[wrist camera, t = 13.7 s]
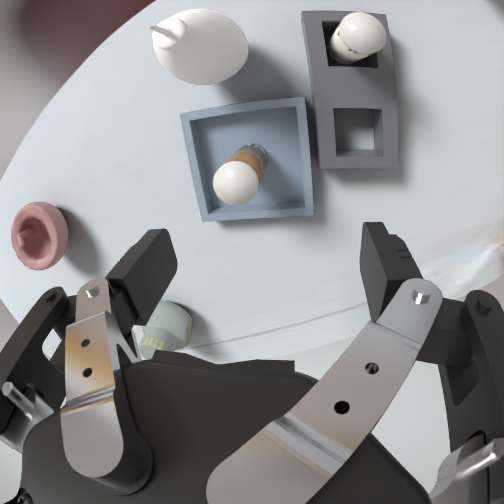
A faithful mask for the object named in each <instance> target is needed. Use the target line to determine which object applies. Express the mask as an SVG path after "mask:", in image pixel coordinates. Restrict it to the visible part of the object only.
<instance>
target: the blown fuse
mask: <svg viewBox="0 0 504 504" xmlns="http://www.w3.org/2000/svg"><path fill="white" fill-rule="evenodd" d="M267 164H268V154H267V152H266V150H265V149H264V148H263V147H262V146H260V145H258V144H256V143H247V144H244V145H243V146H241V147H240V148H239V149H238V150H237V151H236V152H235V153H234V154H233V155H232V156H231V157H230V158H229V159H228V160H227V161H226V162H225V163H224V164H223V165H222V166H221V167H220V168H219V169H218V170H217V172H216V173H215V175H214V178H213V188H214V191H215V193H216V195H217V196H218V197H219V198H220V199H221V200H222V201H223V202H225V203H227V204H229V205H234V206H239V205H244V204H246V203H248V202H250V201H251V200H252V199H253V198H254V196H255V194H256V192H257V190H258V187H259V184H260V182H261V179H262V177H263V174H264V172H265V169H266V167H267Z"/></svg>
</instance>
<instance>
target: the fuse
mask: <svg viewBox="0 0 504 504" xmlns="http://www.w3.org/2000/svg"><path fill="white" fill-rule="evenodd" d="M385 43H386V31H385V29H384V27H383V25H382V24H381V23H380V21H378V20H377V19H376V18H375V17H373V16H371V15H369V14H367V13H363V12H354V13H350V14H348V15H347V16H345V17H344V18H343V20H342V21H341V23H340V24H339V26H338V28H337V29H336V31H335V32H334V34H333V35H332V37H331V38H330V40H329V42H328V45H327V49H328V53H329V55H330V56H331V57H332V58H333V59H334V60H335V61H336V62H338V63H341V64H353V63H355V62H357V61H359V60H361V59H363V58H365V57H367V56H369V55H371V54H373V53H375V52H377V51H379V50H380V49H382V48H383V47H384V45H385Z"/></svg>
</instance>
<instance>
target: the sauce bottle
mask: <svg viewBox="0 0 504 504" xmlns="http://www.w3.org/2000/svg"><path fill="white" fill-rule="evenodd" d="M149 28H150V29H151V30H153V35H152V37H153V45H154V50H155V53H156V56H157V57H158V59H159V61H160V63H161V64H162V65H163V66H164V67H165V69H166V70H167V71H168V72H170V73H171V74H172V75H173V76H175V77H176V78H178V79H180V80H182V81H184V82H187V83H191V84H195V85H210V84H216V83H219V82H222V81H224V80H226V79H228V78H230V77H231V76H233V75H234V74H236V73H237V72H238V71H239V70H240V69H241V68H242V66H243V65H244V64H245V62H246V60H247V57H248V51H249V49H248V42H247V39H246V37H245V34H244V33H243V31H242V30H241V28H240V27H239V26H238V25H237V24H236V23H235V22H234V21H233V20H231V19H230V18H229V17H227V16H225V15H224V14H221V13H219V12H216V11H213V10H207V9H192V10H187V11H183V12H180V13H177V14H175V15H173V16H171V17H170V18H168V19H165V20H163V21H162V22H160V23H159V24H158V25H157V26H153V25H152V26H149Z"/></svg>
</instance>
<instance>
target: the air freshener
mask: <svg viewBox="0 0 504 504" xmlns="http://www.w3.org/2000/svg"><path fill="white" fill-rule="evenodd" d="M142 328H143V332H144V334H145V335H144V337H143V338H142V340H141V342H140V344H139V351H140V353H141V354H142V355H143V357H145V358H146V359H147V360H148V359H152V357H153V354H154V352H155V350H156V349H158V350H164V351H172V352H174V350H178V349H183V348H185V347H187V346H188V344H189V341H190V337H191V331H192V318H191V316H190V315H189V314H188V313H187V312H186V311H185V310H184V309H183V308H181V307H180V306H178V305H176V304H174V303H171V302H167V301H159V303H158V305H157V307H156V309H155V310H154V312H153V314H152V316H151V317H150V319H149V321H148V323H147V325H146V326H142Z"/></svg>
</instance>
